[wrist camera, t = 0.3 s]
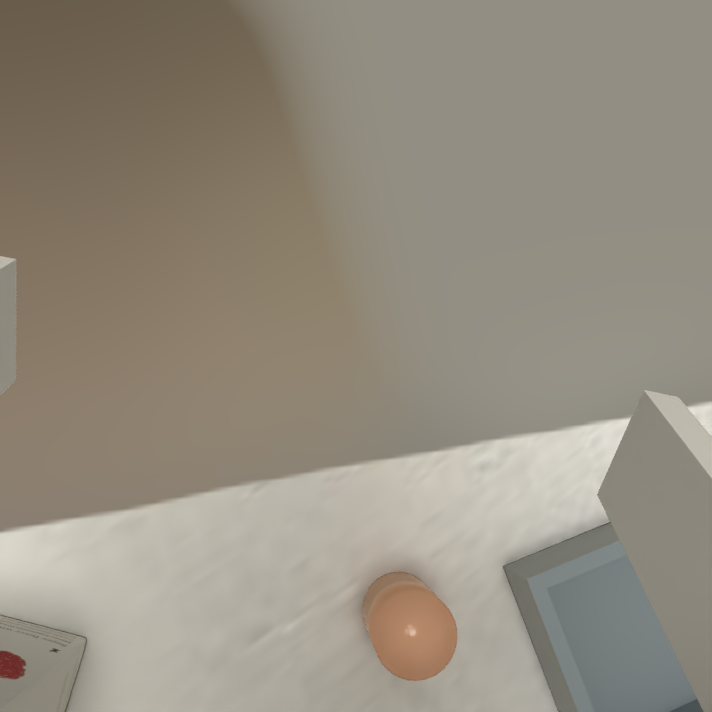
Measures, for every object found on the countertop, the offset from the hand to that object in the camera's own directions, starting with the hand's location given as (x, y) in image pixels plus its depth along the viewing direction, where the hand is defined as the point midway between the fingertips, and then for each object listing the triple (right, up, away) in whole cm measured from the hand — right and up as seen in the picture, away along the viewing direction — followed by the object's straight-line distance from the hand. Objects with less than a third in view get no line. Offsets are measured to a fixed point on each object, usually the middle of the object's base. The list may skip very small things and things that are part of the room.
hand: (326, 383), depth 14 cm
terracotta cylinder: (+4, -17, +33) cm, 37 cm away
